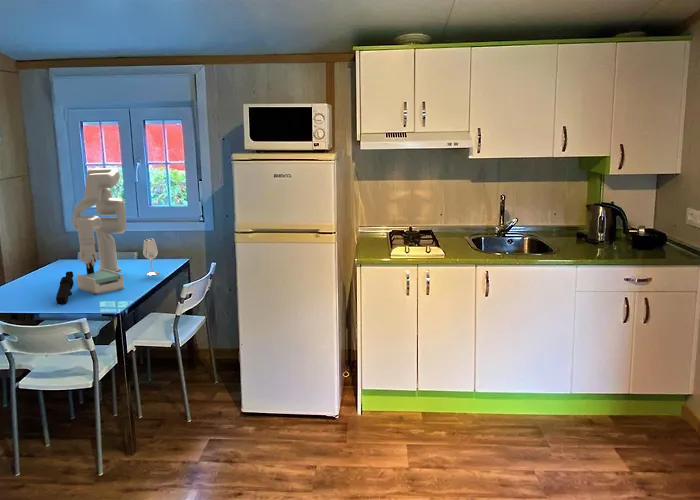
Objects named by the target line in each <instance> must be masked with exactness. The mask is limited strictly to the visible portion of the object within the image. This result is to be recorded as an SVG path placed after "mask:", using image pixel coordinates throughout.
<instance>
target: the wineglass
mask: <svg viewBox="0 0 700 500" xmlns="http://www.w3.org/2000/svg"><path fill="white" fill-rule="evenodd" d="M142 249H143V250H142V253H143V256H144V257H145V258H146V259H148V260H149V261H150V268H151V270H150V272H146V273H145V276H156V275H159V274H160V272H159V271H154V269H153V260H154V259H155V258H156V257H157V255H158V252H159V251H158V247H157V242H156V241H155V239H154V238H145V239H144V240H143V247H142Z"/></svg>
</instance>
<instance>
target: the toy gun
mask: <svg viewBox="0 0 700 500" xmlns="http://www.w3.org/2000/svg"><path fill="white" fill-rule="evenodd" d="M73 278H74V272H73V271H66V272H65V276H62V277H61V279H60V281H59V288H58V290H57V292H56V297H55V300H56V304H57V305H58V304H61V305H67V303H68V301H69V300H68V299H69V296H72V295H73V293H72V289H73V286H74V284H75V282H74V279H73ZM58 306H59V305H58Z"/></svg>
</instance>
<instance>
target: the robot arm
mask: <svg viewBox="0 0 700 500" xmlns="http://www.w3.org/2000/svg"><path fill="white" fill-rule="evenodd" d="M86 172H87V173H86V175H87V176H86V178H85V186H84V194H83V198H82V199H81V200H80V201H79V202H78V203H77V205H76V206H74V207H75V208H74V209H73V211H72V222H71V223H72V227H73V228H74V229H75V230H76V231H77V234H78V243H79V259H80V262H82V263H84V264H85V268H86V275H87V274H92V273H95V266H96V262H97V261H98V260H97V252H96V246H95V244H96V242H97V250H98V257H99V268H98V269H97V272H102V271H104V269H107V270H111V271H114V272H117V273H118V272H119V271H121V270H122V268H121V267H120V266H119V265H118V258H117V247H116V240H115V238H114V237H113V236H112V234H118V235H119V234H123V233H125V232H126V231H127V210H126V204H125V202H124V200H123V199H122V198H112V190H111V189H112V188H114V187H115V186H116V185H117V183H119V181H120V172H119V170H118V169H117V168H114V167H111V168H110V167H109V168H108V167H107V168H106V167H105V168H102V167H101V168H91V169H89V170H87V171H86ZM94 206H95V208H96V209H95V210H96V213H97V215H82V213H84V211H86V210H88V209H89V208H91V207H94ZM98 215H99V216H98ZM100 216H116V217H100ZM95 234H96V239H95ZM96 240H97V241H96Z"/></svg>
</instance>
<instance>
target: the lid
mask: <svg viewBox="0 0 700 500" xmlns="http://www.w3.org/2000/svg"><path fill="white" fill-rule="evenodd" d="M82 275H83V276H86V277H89V278H92V279H95V281H96V284H98V283H103V282H108V281H112V280H117V279H119V275H116V274H113V273H110V272H106V271H102V272H98V271H96V272H94V273H92V274H87V273H86V274H82Z"/></svg>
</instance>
